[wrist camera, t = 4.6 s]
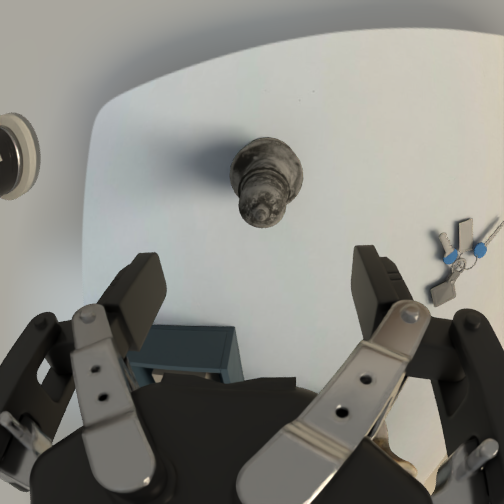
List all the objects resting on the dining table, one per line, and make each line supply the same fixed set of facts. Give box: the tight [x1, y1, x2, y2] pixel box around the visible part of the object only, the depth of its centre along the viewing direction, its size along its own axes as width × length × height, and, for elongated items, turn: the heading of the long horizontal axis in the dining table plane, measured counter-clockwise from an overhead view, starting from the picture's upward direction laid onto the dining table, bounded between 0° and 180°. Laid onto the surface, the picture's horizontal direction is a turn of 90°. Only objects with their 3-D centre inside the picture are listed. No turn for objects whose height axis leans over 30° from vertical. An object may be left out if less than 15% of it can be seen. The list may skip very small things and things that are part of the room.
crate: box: [126, 325, 244, 387], centre depth 39 cm, size 14×14×7 cm
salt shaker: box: [230, 137, 303, 228], centre depth 22 cm, size 6×6×12 cm
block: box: [152, 368, 220, 383], centre depth 39 cm, size 7×7×5 cm
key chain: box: [431, 219, 504, 307], centre depth 29 cm, size 14×8×1 cm, turn 158°
